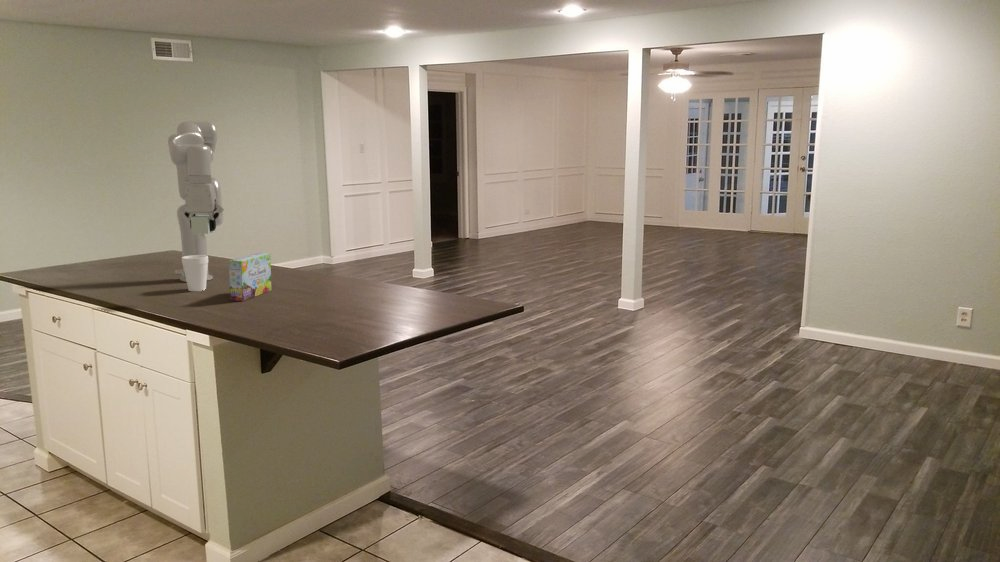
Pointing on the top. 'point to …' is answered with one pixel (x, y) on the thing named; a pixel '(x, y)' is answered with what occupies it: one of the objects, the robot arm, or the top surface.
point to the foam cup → (195, 271)
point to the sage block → (200, 224)
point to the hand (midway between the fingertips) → (203, 230)
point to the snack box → (249, 276)
